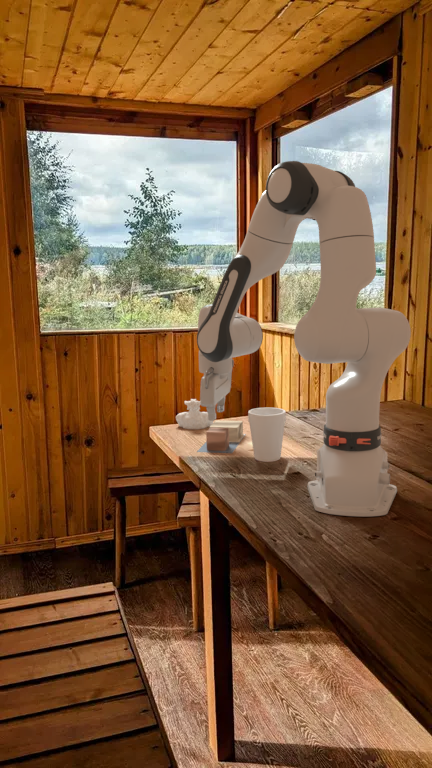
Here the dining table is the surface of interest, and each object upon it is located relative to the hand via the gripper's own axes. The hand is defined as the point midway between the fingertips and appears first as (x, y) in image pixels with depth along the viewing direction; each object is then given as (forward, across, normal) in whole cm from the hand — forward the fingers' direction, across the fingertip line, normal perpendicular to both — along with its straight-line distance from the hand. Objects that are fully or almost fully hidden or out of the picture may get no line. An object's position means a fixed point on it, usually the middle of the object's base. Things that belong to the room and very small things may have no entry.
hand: (216, 415), depth 161 cm
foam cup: (+10, -8, -15) cm, 19 cm away
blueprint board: (+10, +5, 0) cm, 11 cm away
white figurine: (+11, +21, +12) cm, 27 cm away
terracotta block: (+9, -1, 0) cm, 9 cm away
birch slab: (+9, +10, 0) cm, 14 cm away
